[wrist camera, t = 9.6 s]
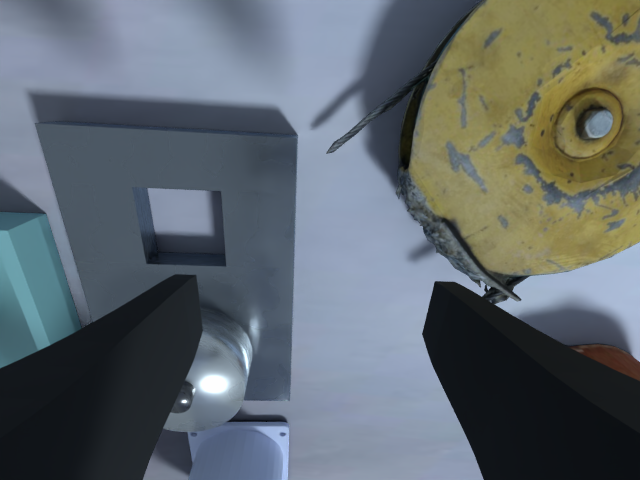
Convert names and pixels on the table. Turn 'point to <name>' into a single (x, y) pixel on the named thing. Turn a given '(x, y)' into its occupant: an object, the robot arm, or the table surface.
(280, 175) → the plate
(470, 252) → the yellow flat irregular piece
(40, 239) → the tray
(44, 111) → the table surface
